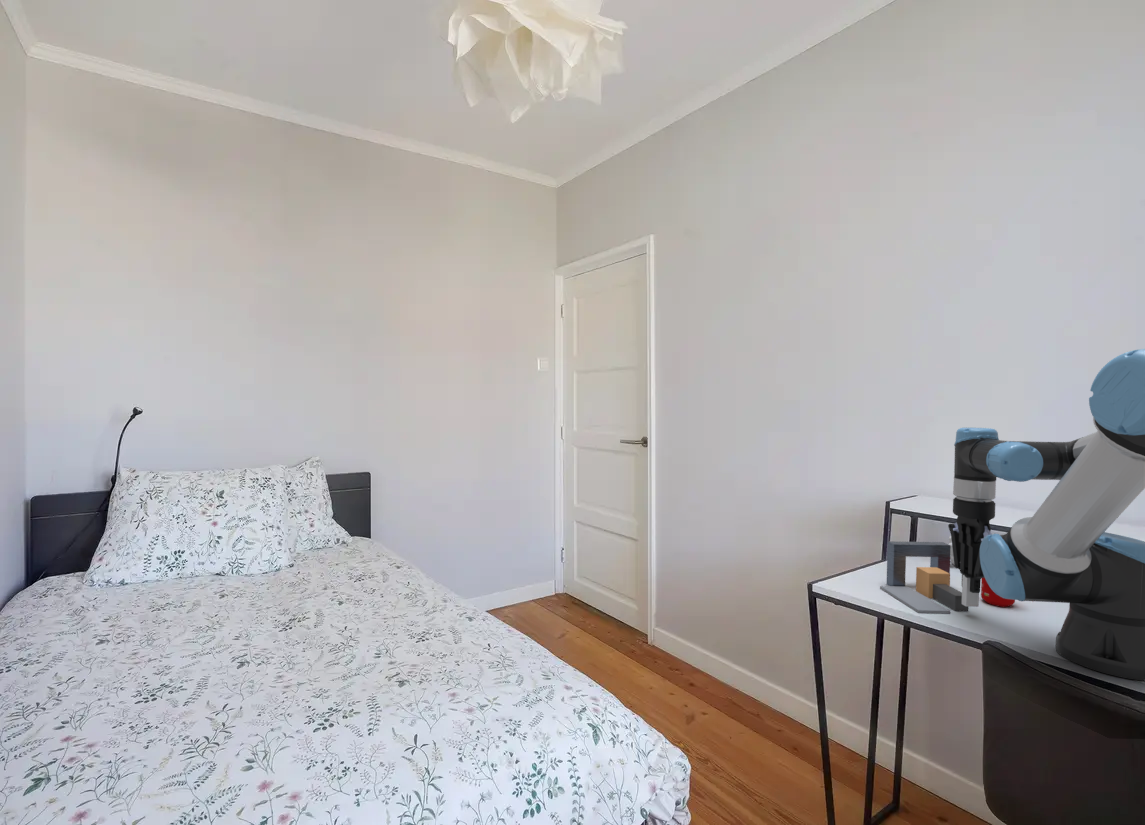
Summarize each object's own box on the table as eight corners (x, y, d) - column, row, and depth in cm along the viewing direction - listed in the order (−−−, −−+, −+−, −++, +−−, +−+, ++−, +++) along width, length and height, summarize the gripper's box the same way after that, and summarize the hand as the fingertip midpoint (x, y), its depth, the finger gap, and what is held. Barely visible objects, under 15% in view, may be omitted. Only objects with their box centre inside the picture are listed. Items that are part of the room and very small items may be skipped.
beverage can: (1004, 599, 134) (1005, 549, 134) (1021, 609, 128) (1022, 556, 128) (975, 597, 135) (976, 547, 135) (990, 607, 129) (992, 555, 129)
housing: (949, 588, 141) (950, 545, 141) (893, 588, 141) (894, 544, 141) (941, 584, 144) (942, 542, 144) (886, 584, 144) (887, 541, 144)
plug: (972, 611, 126) (973, 584, 126) (950, 611, 126) (951, 584, 126) (936, 591, 139) (936, 567, 139) (915, 591, 139) (916, 567, 139)
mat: (950, 613, 125) (950, 610, 125) (918, 613, 125) (918, 610, 125) (908, 588, 141) (908, 586, 141) (880, 588, 141) (880, 586, 141)
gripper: (1014, 504, 116) (1009, 617, 117) (970, 493, 129) (966, 594, 130) (977, 504, 116) (973, 617, 117) (937, 492, 129) (934, 594, 130)
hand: (970, 605), depth 124 cm, fingers closed
